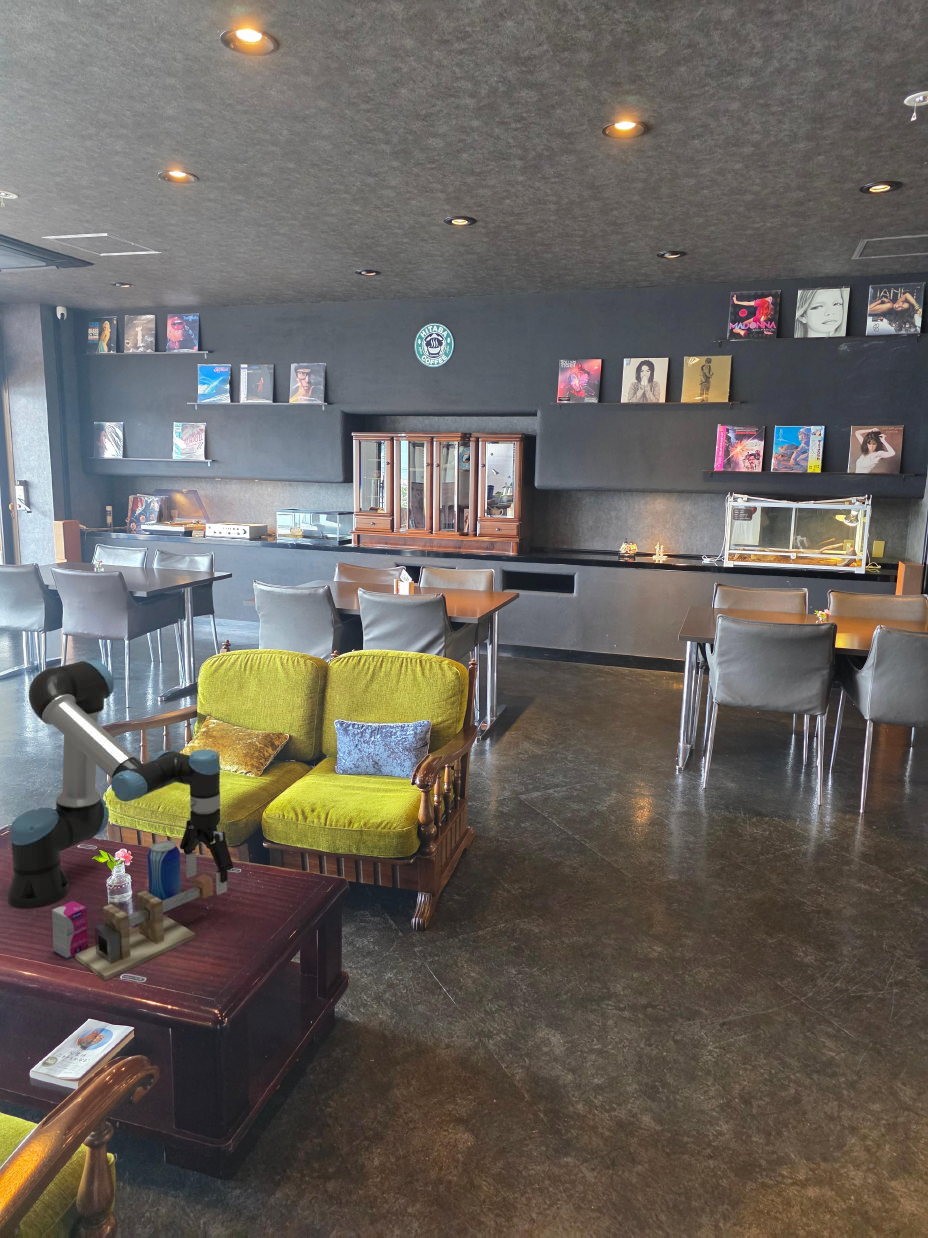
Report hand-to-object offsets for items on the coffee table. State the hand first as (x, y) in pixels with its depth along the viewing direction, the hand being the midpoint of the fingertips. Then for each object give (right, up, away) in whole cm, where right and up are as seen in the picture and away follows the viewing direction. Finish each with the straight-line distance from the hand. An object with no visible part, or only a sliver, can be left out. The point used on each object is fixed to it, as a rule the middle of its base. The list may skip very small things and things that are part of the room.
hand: (206, 884), depth 218 cm
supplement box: (-28, -11, -17) cm, 35 cm away
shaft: (-7, -4, -9) cm, 11 cm away
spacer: (-17, -11, -21) cm, 29 cm away
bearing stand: (-13, -11, -15) cm, 22 cm away
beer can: (-14, -7, +9) cm, 18 cm away
